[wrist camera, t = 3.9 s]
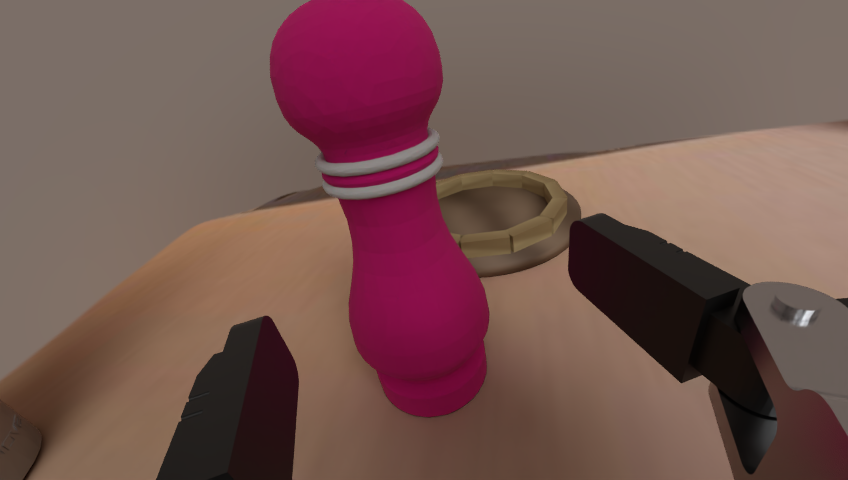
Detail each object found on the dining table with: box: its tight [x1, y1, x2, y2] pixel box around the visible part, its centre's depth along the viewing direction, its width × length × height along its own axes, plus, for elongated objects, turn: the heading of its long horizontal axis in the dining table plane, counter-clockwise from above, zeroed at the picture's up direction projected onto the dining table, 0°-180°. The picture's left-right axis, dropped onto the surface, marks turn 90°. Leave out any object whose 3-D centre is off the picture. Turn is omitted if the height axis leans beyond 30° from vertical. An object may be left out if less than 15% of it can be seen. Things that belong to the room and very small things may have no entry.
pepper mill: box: [270, 0, 489, 417], centre depth 15 cm, size 7×7×20 cm
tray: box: [436, 169, 581, 277], centre depth 34 cm, size 18×18×2 cm
